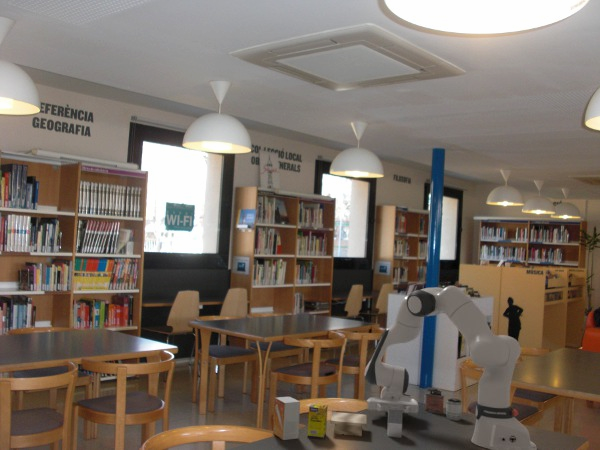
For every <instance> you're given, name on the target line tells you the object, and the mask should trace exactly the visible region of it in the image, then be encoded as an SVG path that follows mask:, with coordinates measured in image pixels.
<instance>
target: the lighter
mask: <svg viewBox="0 0 600 450" xmlns="http://www.w3.org/2000/svg"><path fill="white" fill-rule="evenodd" d="M427 391H428V392H425V408H424V411H425V412H427V413H428V412H429V413H432V414H433V413H434V414H439V415H442V414H444V400H445V395H443V394H442V393H443V391H442V390H441V389H439V388H434V387H433V388H432V387H427Z"/></svg>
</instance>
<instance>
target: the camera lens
mask: <svg viewBox="0 0 600 450" xmlns="http://www.w3.org/2000/svg"><path fill="white" fill-rule="evenodd" d="M445 408H446V409H445V414H446V419H448V420H450V421H461V419H462V411H463V402H462V400H460V399H457V398H449V399H447V400H446V407H445Z"/></svg>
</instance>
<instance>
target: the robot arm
mask: <svg viewBox="0 0 600 450" xmlns="http://www.w3.org/2000/svg"><path fill="white" fill-rule="evenodd" d="M440 314H445V315H446V317H448V319H449V320H450V321H451V322H452V324H453V325H454V326H455V328H456V329H457V330H458V331H459V332H460V334H461V335H462V336H463V337H462V338H464V340H465V342H466V344H467V346H468V348H469V349H468V350H469V353H468V354H469V358H470V360H471V361H472V363H473V364H475V365H476V366H477V367H481V368H484V370H483V373H482V374H481V377H480V378H479V379H478V386H477V387H478V388H477V390H478V391H477V401H476V404H475V405H476V406H475V425H474V430H473V434H472V438H471V439H470V441H471V443H473V444H474V445H476V446H479V447H481V448H484V449H488V450H538V448H537V444H535V443H534V442H533V441H531V437H530V436H531V435H530V432H529V429H528V428H526V426H524V425H523V424H522V423H521V422H520V421H519V420H518V418H516V417H517V416H518V415H519V411H518V410H517V409H515V408H514V407H512V406H510V399H511V397H510V396H511V384H512V380H513V377H514V376H513V374H514V371H515V367H516V364H517V362H518V359H519V358H520V356H521V353H522V348H521V345H520V342H519V341H518V340H517V339H516V338H514V337H512V336H509V335H506V334H497V335H496V334H495V333H493V332H492V329H491V327H490V326H489V323H488V318H487V315H485V314H484V313H483V312H482V311H481V309H480V308H479V307H478V305H477V304H476V303H475V302H474V301H473V300H472V299H471V298H470V297H469V295H467V294H466V293H465V292H464V291H463V290H462V289H461V288H459V287H458V286H455V285H448V286H446V287H444V286H437V287H426V288H422V289H416V290H415V291H414V290H413V291H412V292H411V293H410V294H408V295H405V296H404V297H403V298H402V300H401V302H400V304H399V306H398V309H397V312H396V316H395V318H394V321H393V323H392V324H391V325H390V326H388V327H386V328H385V329H384V330H383V332H382V333H381V335H380V338H378V339H379V340H378V342H377V345H376V346H375V349H374V351H373V353H372V356H371V358H370V359H369V362H368V363H367V365H366V367H365V369H364V373H363V374H364V379H365V380H366V381H367V383H368V384H369V385H373V386H380V387H383V388H382V389H381V392H380V397H374V396H373V397H369V398H368V399H366V402H365V403H367V404H366V405H367V407H366V408H367V410H369V411H378V412H385V413H387V414H388V406H397V407H402V409H403V414H418V413H419V402H418V401H417V400H416V399H415V398H414V395H410V394H406V393H407V392H408V388H409V382H410V374H409V372H408V370H407V369H406V368H405V367H404V366H399V365H395V364H390V363H385V362H383V361H382V359H383V357H384V355H385V353H386V351H387V349H388V348H389V347H391V346H393V345H397V344H406V343H410V342H412V341H415V340H416V339H417V338H418V337H419V335H420V332H421V329H422V327H423V322H424V318H425V317H431V316H433V317H434V316H437V315H440Z"/></svg>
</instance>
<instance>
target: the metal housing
mask: <svg viewBox="0 0 600 450" xmlns="http://www.w3.org/2000/svg"><path fill="white" fill-rule="evenodd" d="M403 414H404V413H403V409H402V407H397V406H388V413H387V427H386V428H387V429H386V430H387V431H386V433H387V434H386V435H387V438H388V437H390V438H402V432H403V416H404V415H403Z"/></svg>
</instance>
